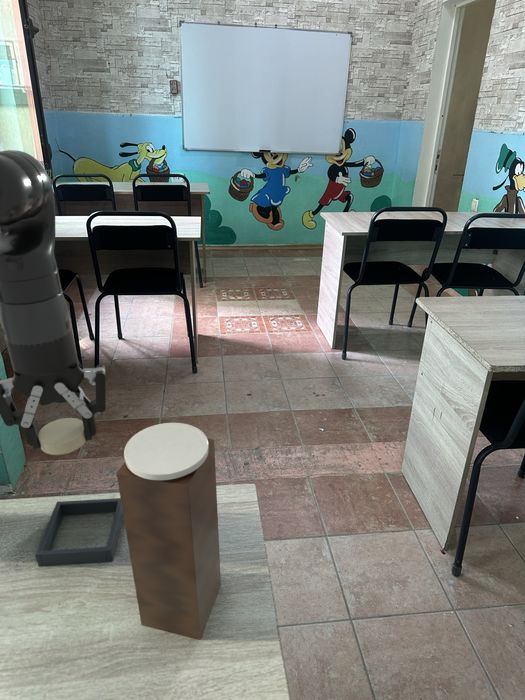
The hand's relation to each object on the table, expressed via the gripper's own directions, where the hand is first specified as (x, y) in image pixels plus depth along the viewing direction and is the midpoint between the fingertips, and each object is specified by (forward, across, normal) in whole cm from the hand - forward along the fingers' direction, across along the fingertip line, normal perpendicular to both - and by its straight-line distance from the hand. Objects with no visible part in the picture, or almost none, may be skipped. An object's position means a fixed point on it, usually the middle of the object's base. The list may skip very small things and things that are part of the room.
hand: (64, 440), depth 66 cm
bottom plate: (-7, -13, +16) cm, 21 cm away
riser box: (+19, -13, +16) cm, 28 cm away
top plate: (+1, 0, 0) cm, 1 cm away
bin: (+19, 0, 0) cm, 19 cm away
